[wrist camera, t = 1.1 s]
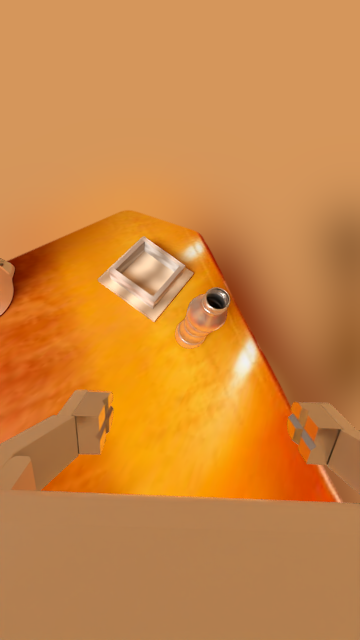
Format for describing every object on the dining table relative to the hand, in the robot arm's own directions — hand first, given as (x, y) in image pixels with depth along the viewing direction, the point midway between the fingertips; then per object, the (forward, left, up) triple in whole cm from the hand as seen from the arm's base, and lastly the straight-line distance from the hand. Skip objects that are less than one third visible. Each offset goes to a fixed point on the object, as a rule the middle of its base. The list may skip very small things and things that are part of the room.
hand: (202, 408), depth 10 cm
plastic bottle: (-2, +15, -36) cm, 39 cm away
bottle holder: (-18, +21, -36) cm, 45 cm away
